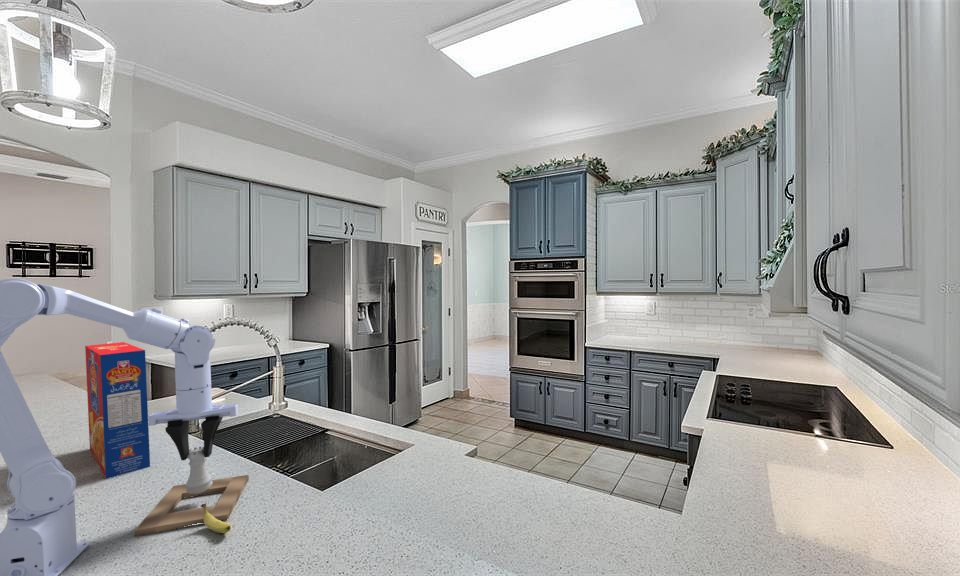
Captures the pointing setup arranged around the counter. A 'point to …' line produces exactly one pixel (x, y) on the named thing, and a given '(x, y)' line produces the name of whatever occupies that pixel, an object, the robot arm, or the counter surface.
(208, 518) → the banana
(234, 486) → the walnut socket board
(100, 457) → the blue and red box
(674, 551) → the counter surface
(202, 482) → the rook chess piece
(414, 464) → the counter surface
